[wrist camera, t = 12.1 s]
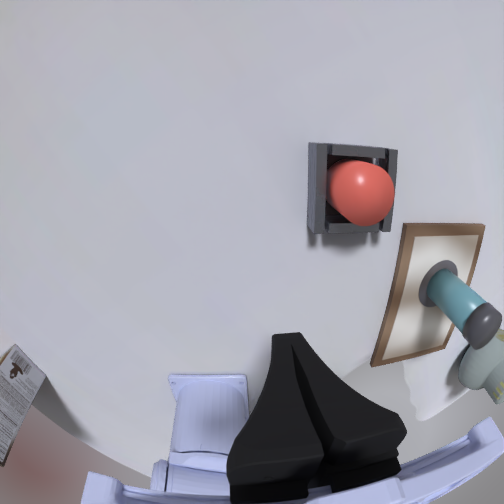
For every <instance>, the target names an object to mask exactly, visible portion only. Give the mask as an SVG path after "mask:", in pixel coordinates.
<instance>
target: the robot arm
mask: <svg viewBox="0 0 504 504" xmlns="http://www.w3.org/2000/svg"><path fill="white" fill-rule="evenodd" d="M168 381H169V383H170V386H171V389H172V392H173V395H174V397H175V400H176V403H177V405H176V411H175V418H174V425H173V432H172V439H171V446H170V453H169V457H168V461H166V460H163V459H160V460H159V462H156V463H154V466H153V471H152V478H151V484H150V489H144V488H138V487H133V486H128V485H124V484H122V483H121V482H120V481H119V480H118V479H116V478H113V477H110V476H107V475H102V474H99V473H95V472H92V471H90V472H88V476H87V480H86V484H85V487H84V491H83V496H82V500H81V504H428V503H430V502H431V501H434V500H436V499H437V498H439V497H441V496H443V495H445V494H446V493H448V492H450V491H452V490H453V489H455V488H457V487H458V486H460V485H461V484H463V483H465V482H466V481H468V480H469V479H471V478H472V477H474V476H476V475H477V474H478V473H480V472H481V471H483V470H484V469H485V468H487V467H488V466H489V465H490V464H491V463H493V462H494V461H495V460H496V459H497V458H498V457H499V456H500V455H502V454H503V453H504V438H503V436H502V434H501V433H500V431H499V429H498V428H497V426H496V424H495V423H494V421H493V419H492V418H491V417H487V418H486V419H484V420H483V421H481V422H479V423H478V424H476V425H475V426H474V427H473V428H472V429H471V430H470V431H469V432H468V434H467V435H465V436H463V437H461V438H459V439H457V440H455V441H453V442H452V443H450V444H448V445H446V446H444V447H441V448H440V449H437V450H435V451H433V452H431V453H428V454H426V455H424V456H422V457H419V458H417V459H414V460H412V461H409V462H407V463H404V464H401V465H400V464H399V461H398V459H397V456H398V455H399V453H398V450H397V447H398V445H399V444H400V443H401V442H402V441H403V439H404V438H405V436H406V434H407V430H406V428H405V425H404V423H403V421H402V420H401V418H400V417H399V415H398V414H397V413H395V412H393V411H390V410H388V409H386V408H383V407H381V406H379V405H378V404H375V403H374V402H372V401H370V400H368V399H367V398H365V397H364V396H362V395H361V394H359V393H358V392H356V391H355V390H353V389H352V388H351V387H350V386H348V385H347V384H346V383H345V382H343V381H342V380H341V379H340V378H339V377H338V376H337V375H336V374H335V373H334V372H333V371H332V370H331V369H330V368H329V367H328V366H327V365H326V364H325V363H324V362H323V361H322V360H321V359H320V357H319V356H318V355H317V354H316V353H315V351H314V350H313V349H312V348H311V346H310V345H309V344H308V342H307V341H306V339H305V338H304V337H303V335H302V334H301V333H300V332H297V333H285V334H274V335H273V336H272V351H271V363H270V368H269V371H268V375H267V378H266V381H265V384H264V387H263V390H262V392H261V395H260V397H259V399H258V401H257V404H256V406H255V408H254V410H253V411H252V413H251V415H250V417H249V409H248V394H247V378H246V376H245V375H243V374H236V375H169V377H168ZM241 381H242V382H241Z"/></svg>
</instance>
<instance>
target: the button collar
mask: <svg viewBox="0 0 504 504" xmlns="http://www.w3.org/2000/svg"><path fill="white" fill-rule="evenodd" d="M327 154H330V155H343V156H359V157H372V158H376V165H377V166H379V167H381V168H383V169H384V170H385V171H386V172H387V173H388V174H389V176H390V177H391V179H392V182H393V185H394V192H395V186H396V173H397V155H398V150H394V149H388V148H381V147H372V146H361V145H348V144H333V143H310V142H309V165H308V210H307V225H308V227H309V228H310V229H311V231H312V232H313V233H314V234H324V229H325V230H326V231H327V232H328V233H361V232H378V231H379V230H380V231H382V232H390V230H391V223H392V215H393V206H394V201H393V205H392V207H391V209H390V211H389V213H388V214H387V215H386V217H385V218H384V219H382V220H381V221H380V222H378V223H376V224H374V225H371V226H359V225H356V224H353V223H352V222H350V221H349V220H348V219H346V218H345V217H344V216H343V215H325V203H326V178H327ZM394 197H395V193H394Z"/></svg>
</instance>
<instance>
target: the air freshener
mask: <svg viewBox="0 0 504 504" xmlns="http://www.w3.org/2000/svg"><path fill="white" fill-rule="evenodd" d="M458 378H459V381H460V382H461V383H462V384H463V385H464V386H465V387H467V388H469V389H472V390H479V389H482V388H485V389H486V391H487V392H488V394H489V395H490V396H491V398H492V399H493V401H494V402H495V404H500V403H502V402H504V330H502V329H500V328H499V329H498V331H497V333H496V334H495V336H494V337H493V338H492V340H491V341H490V342H489V343H488V344H487V345H485V346H484V347H483V348H481V349H478V350H475V349H473V347H472V346H471V345H470V347H469V348H468V349H467V351H466V353H465V355H464V357H463V359H462V361H461V364H460V367H459V373H458Z"/></svg>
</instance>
